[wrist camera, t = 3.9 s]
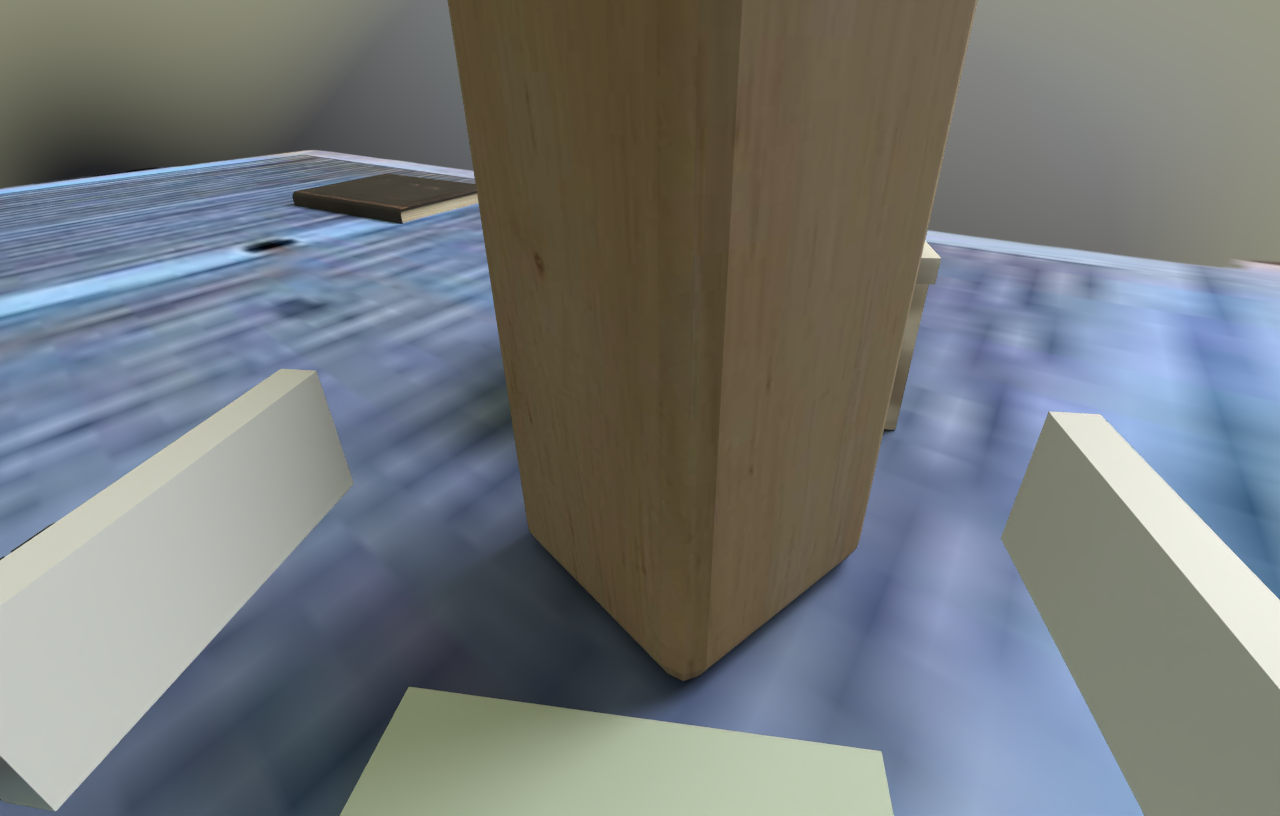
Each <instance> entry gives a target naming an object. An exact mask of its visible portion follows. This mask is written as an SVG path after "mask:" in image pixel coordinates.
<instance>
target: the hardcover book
mask: <svg viewBox="0 0 1280 816" xmlns="http://www.w3.org/2000/svg"><path fill="white" fill-rule="evenodd" d="M293 201H294V203H295V205H297V206H303V207H309V208H315V209H320V210H326V211H332V212H338V213H343V214H349V215H355V216H361V217H366V218H372V219H378V220H384V221H389V222H395V223H401V224H403V223H404V222H408V221H411V220H415V219H419V218H423V217H427V216H430V215H434V214H438V213H442V212H446V211H449V210H453V209H457V208H461V207H465V206H469V205H472V204H476V203H479V202H478V196H477V189H476V184H468V183H460V182H451V181H443V180H434V179H426V178H418V177H409V176H401V175H392V174H384V175H379V176H373V177H368V178H363V179H357V180H352V181H347V182H342V183H336V184H331V185H326V186H321V187H315V188H310V189H305V190H299V191H295V192H294V193H293Z"/></svg>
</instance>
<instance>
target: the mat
mask: <svg viewBox="0 0 1280 816" xmlns="http://www.w3.org/2000/svg"><path fill="white" fill-rule="evenodd" d="M340 816H893V810H892V805H891V800H890V795H889V789H888V784H887V779H886V773H885V768H884V763H883V757H882V752H881V751H875V750H868V749H861V748H853V747H846V746H839V745H831V744H824V743H817V742H809V741H802V740H795V739H788V738H780V737H773V736H766V735H758V734H751V733H744V732H736V731H729V730H722V729H715V728H707V727H700V726H693V725H685V724H678V723H671V722H663V721H656V720H649V719H641V718H634V717H627V716H620V715H612V714H605V713H598V712H590V711H583V710H576V709H568V708H561V707H554V706H547V705H539V704H532V703H525V702H517V701H510V700H503V699H495V698H488V697H481V696H473V695H466V694H459V693H452V692H444V691H437V690H430V689H422V688H415V687H408V689H407V691H406V693H405V695H404V697H403V698H402V700H401V702H400V704H399V706H398V708H397V710H396V711H395V713H394V715H393V717H392V719H391V721H390V723H389V725H388V726H387V728H386V730H385V732H384V734H383V736H382V738H381V739H380V741H379V743H378V745H377V747H376V749H375V751H374V753H373V754H372V756H371V758H370V760H369V762H368V764H367V766H366V767H365V769H364V771H363V773H362V775H361V777H360V779H359V780H358V782H357V784H356V786H355V788H354V790H353V792H352V794H351V795H350V797H349V799H348V801H347V803H346V805H345V807H344V808H343V810H342V812H341V814H340Z"/></svg>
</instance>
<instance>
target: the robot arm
mask: <svg viewBox="0 0 1280 816" xmlns="http://www.w3.org/2000/svg"><path fill="white" fill-rule="evenodd" d="M353 484H354V483H353V480H352V477H351V474H350V471H349V468H348V465H347V462H346V459H345V456H344V453H343V450H342V447H341V443H340V440H339V437H338V434H337V431H336V428H335V425H334V422H333V419H332V416H331V413H330V410H329V407H328V404H327V401H326V398H325V395H324V392H323V389H322V386H321V383H320V380H319V377H318V374H317V371H309V370H291V369H280V370H279V371H277V372H276V373H274V374H273V375H271V376H270V377H268V378H267V379H265V380H264V381H263V382H261V383H260V384H258V385H257V386H255V387H254V388H252V389H251V390H249V391H248V392H246V393H245V394H243V395H242V396H241V397H239V398H238V399H236V400H235V401H233V402H232V403H230V404H229V405H227V406H226V407H224V408H223V409H221V410H220V411H219V412H217V413H216V414H214V415H213V416H211V417H210V418H208V419H207V420H205V421H204V422H202V423H201V424H199V425H198V426H197V427H195V428H194V429H192V430H191V431H189V432H188V433H186V434H185V435H183V436H182V437H180V438H179V439H177V440H176V441H175V442H173V443H172V444H170V445H169V446H167V447H166V448H164V449H163V450H161V451H160V452H158V453H157V454H155V455H154V456H153V457H151V458H150V459H148V460H147V461H145V462H144V463H142V464H141V465H139V466H138V467H136V468H135V469H133V470H132V471H131V472H129V473H128V474H126V475H125V476H123V477H122V478H120V479H119V480H117V481H116V482H114V483H113V484H111V485H110V486H109V487H107V488H106V489H104V490H103V491H101V492H100V493H98V494H97V495H95V496H94V497H92V498H91V499H89V500H88V501H87V502H85V503H84V504H82V505H81V506H79V507H78V508H76V509H75V510H73V511H72V512H70V513H69V514H67V515H66V516H65V517H63V518H62V519H60V520H59V521H57V522H55V523H53V524H51V525H49V526H48V527H46V528H45V529H43V530H42V531H40V532H39V533H37V534H36V535H34V536H33V537H31V538H30V539H28V540H27V541H25V542H24V543H23V544H21V545H20V546H18V547H17V548H15V549H14V550H12V551H11V553H10V554H9V555H7V556H6V557H4V556H3V557H2V558H0V799H1V800H2V801H3V802H6V803H11V804H17V805H22V806H28V807H33V808H39V809H44V810H50V811H55V812H56V811H57V810H58V809H59V808H60V806H61V805H62V804H63V803H64V802H65V801H66V800H67V799H68V798H69V797H70V795H71V794H72V793H73V792H74V791H75V790H76V789H77V788H78V787H79V786H80V784H81V783H82V782H83V781H84V780H85V779H86V778H87V777H88V776H89V775H90V773H91V772H92V771H93V770H94V769H95V768H96V767H97V766H98V765H99V764H100V762H101V761H102V760H103V759H104V758H105V757H106V756H107V755H108V754H109V753H110V751H111V750H112V749H113V748H114V747H115V746H116V745H117V744H118V743H119V742H120V740H121V739H122V738H123V737H124V736H125V735H126V734H127V733H128V732H129V731H130V729H131V728H132V727H133V726H134V725H135V724H136V723H137V722H138V721H139V720H140V718H141V717H142V716H143V715H144V714H145V713H146V712H147V711H148V710H149V709H150V707H151V706H152V705H153V704H154V703H155V702H156V701H157V700H158V699H159V698H160V696H161V695H162V694H163V693H164V692H165V691H166V690H167V689H168V688H169V687H170V685H171V684H172V683H173V682H174V681H175V680H176V679H177V678H178V677H179V676H180V675H181V673H182V672H183V671H184V670H185V669H186V668H187V667H188V666H189V665H190V664H191V662H192V661H193V660H194V659H195V658H196V657H197V656H198V655H199V654H200V653H201V651H202V650H203V649H204V648H205V647H206V646H207V645H208V644H209V643H210V642H211V640H212V639H213V638H214V637H215V636H216V635H217V634H218V633H219V632H220V631H221V629H222V628H223V627H224V626H225V625H226V624H227V623H228V622H229V621H230V620H231V618H232V617H233V616H234V615H235V614H236V613H237V612H238V611H239V610H240V609H241V607H242V606H243V605H244V604H245V603H246V602H247V601H248V600H249V599H250V598H251V596H252V595H253V594H254V593H255V592H256V591H257V590H258V589H259V588H260V587H261V585H262V584H263V583H264V582H265V581H266V580H267V579H268V578H269V577H270V576H271V574H272V573H273V572H274V571H275V570H276V569H277V568H278V567H279V566H280V565H281V563H282V562H283V561H284V560H285V559H286V558H287V557H288V556H289V555H290V554H291V552H292V551H293V550H294V549H295V548H296V547H297V546H298V545H299V544H300V543H301V541H302V540H303V539H304V538H305V537H306V536H307V535H308V534H309V533H310V532H311V530H312V529H313V528H314V527H315V526H316V525H317V524H318V523H319V522H320V521H321V519H322V518H323V517H324V516H325V515H326V514H327V513H328V512H329V511H330V510H331V508H332V507H333V506H334V505H335V504H336V503H337V502H338V501H339V500H340V499H341V497H342V496H343V495H344V494H345V493H346V492H347V491H348V490H349V489H350V488H351V486H352V485H353ZM1001 539H1002V541H1003V543H1004V545H1005V547H1006V549H1007V551H1008V553H1009V555H1010V557H1011V559H1012V561H1013V563H1014V565H1015V566H1016V568H1017V570H1018V572H1019V574H1020V576H1021V578H1022V580H1023V582H1024V584H1025V586H1026V588H1027V590H1028V592H1029V594H1030V595H1031V597H1032V599H1033V601H1034V603H1035V605H1036V607H1037V609H1038V611H1039V613H1040V615H1041V617H1042V619H1043V621H1044V622H1045V624H1046V626H1047V628H1048V630H1049V632H1050V634H1051V636H1052V638H1053V640H1054V642H1055V644H1056V646H1057V648H1058V649H1059V651H1060V653H1061V655H1062V657H1063V659H1064V661H1065V663H1066V665H1067V667H1068V669H1069V671H1070V673H1071V675H1072V677H1073V678H1074V680H1075V682H1076V684H1077V686H1078V688H1079V690H1080V692H1081V694H1082V696H1083V698H1084V700H1085V702H1086V704H1087V705H1088V707H1089V709H1090V711H1091V713H1092V715H1093V717H1094V719H1095V721H1096V723H1097V725H1098V727H1099V729H1100V731H1101V732H1102V734H1103V736H1104V738H1105V740H1106V742H1107V744H1108V746H1109V748H1110V750H1111V752H1112V754H1113V756H1114V758H1115V760H1116V761H1117V763H1118V765H1119V767H1120V769H1121V771H1122V773H1123V775H1124V777H1125V779H1126V781H1127V783H1128V785H1129V787H1130V788H1131V790H1132V792H1133V794H1134V796H1135V798H1136V800H1137V802H1138V804H1139V806H1140V808H1141V810H1142V812H1143V814H1144V815H1145V816H1280V600H1279V599H1278V598H1277V597H1276V596H1275V595H1274V594H1273V593H1272V592H1271V591H1270V590H1269V589H1268V588H1267V587H1266V585H1265V584H1264V583H1263V582H1262V581H1261V580H1260V579H1259V578H1258V577H1257V576H1256V575H1255V574H1254V573H1253V572H1252V571H1251V570H1250V569H1249V568H1248V567H1247V566H1246V565H1245V564H1244V563H1243V562H1242V561H1241V560H1240V559H1239V558H1238V557H1237V555H1236V554H1235V553H1234V552H1233V551H1232V550H1231V549H1230V548H1229V547H1228V546H1227V545H1226V544H1225V543H1224V542H1223V541H1222V540H1221V539H1220V538H1219V537H1218V536H1217V535H1216V534H1215V533H1214V532H1213V531H1212V530H1211V529H1210V528H1209V527H1208V525H1207V524H1206V523H1205V522H1204V521H1203V520H1202V519H1201V518H1200V517H1199V516H1198V515H1197V514H1196V513H1195V512H1194V511H1193V510H1192V509H1191V508H1190V507H1189V506H1188V505H1187V504H1186V503H1185V502H1184V501H1183V500H1182V499H1181V498H1180V497H1179V495H1178V494H1177V493H1176V492H1175V491H1174V490H1173V489H1172V488H1171V487H1170V486H1169V485H1168V484H1167V483H1166V482H1165V481H1164V480H1163V479H1162V478H1161V477H1160V476H1159V475H1158V474H1157V473H1156V472H1155V471H1154V470H1153V469H1152V468H1151V467H1150V466H1149V464H1148V463H1147V462H1146V461H1145V460H1144V459H1143V458H1142V457H1141V456H1140V455H1139V454H1138V453H1137V452H1136V451H1135V450H1134V449H1133V448H1132V447H1131V446H1130V445H1129V444H1128V443H1127V442H1126V441H1125V440H1124V439H1123V438H1122V437H1121V436H1120V434H1119V433H1118V432H1117V431H1116V430H1115V429H1114V428H1113V427H1112V426H1111V425H1110V424H1109V423H1108V422H1107V421H1106V420H1105V419H1104V418H1103V417H1102V416H1101V415H1100V414H1083V413H1065V412H1048V415H1047V418H1046V420H1045V423H1044V425H1043V428H1042V431H1041V433H1040V436H1039V439H1038V441H1037V444H1036V447H1035V449H1034V452H1033V455H1032V457H1031V460H1030V463H1029V465H1028V468H1027V470H1026V473H1025V476H1024V478H1023V481H1022V484H1021V486H1020V489H1019V492H1018V494H1017V497H1016V500H1015V502H1014V505H1013V508H1012V510H1011V513H1010V516H1009V518H1008V521H1007V523H1006V526H1005V529H1004V531H1003V534H1002V537H1001Z"/></svg>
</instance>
